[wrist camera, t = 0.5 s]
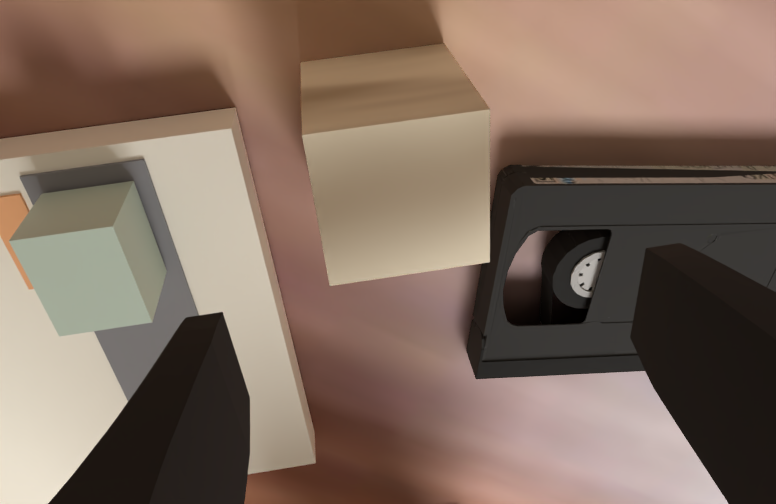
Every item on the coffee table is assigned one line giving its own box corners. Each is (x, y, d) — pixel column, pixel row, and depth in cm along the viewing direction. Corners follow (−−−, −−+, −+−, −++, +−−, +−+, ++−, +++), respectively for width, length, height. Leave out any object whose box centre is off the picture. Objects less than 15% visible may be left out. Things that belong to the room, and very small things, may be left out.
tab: (166, 271, 18) (152, 322, 16) (83, 283, 18) (59, 336, 16) (133, 181, 16) (112, 226, 15) (41, 193, 16) (9, 240, 14)
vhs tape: (884, 158, 22) (931, 184, 20) (790, 329, 26) (823, 362, 25) (495, 157, 20) (513, 186, 18) (463, 342, 24) (475, 378, 23)
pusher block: (448, 171, 20) (489, 262, 15) (322, 189, 19) (329, 285, 15) (443, 42, 17) (490, 109, 13) (300, 61, 17) (301, 134, 13)
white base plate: (314, 432, 25) (315, 465, 24) (-114, 501, 25) (-137, 539, 23) (235, 107, 17) (230, 129, 16) (-403, 192, 17) (-463, 224, 15)
